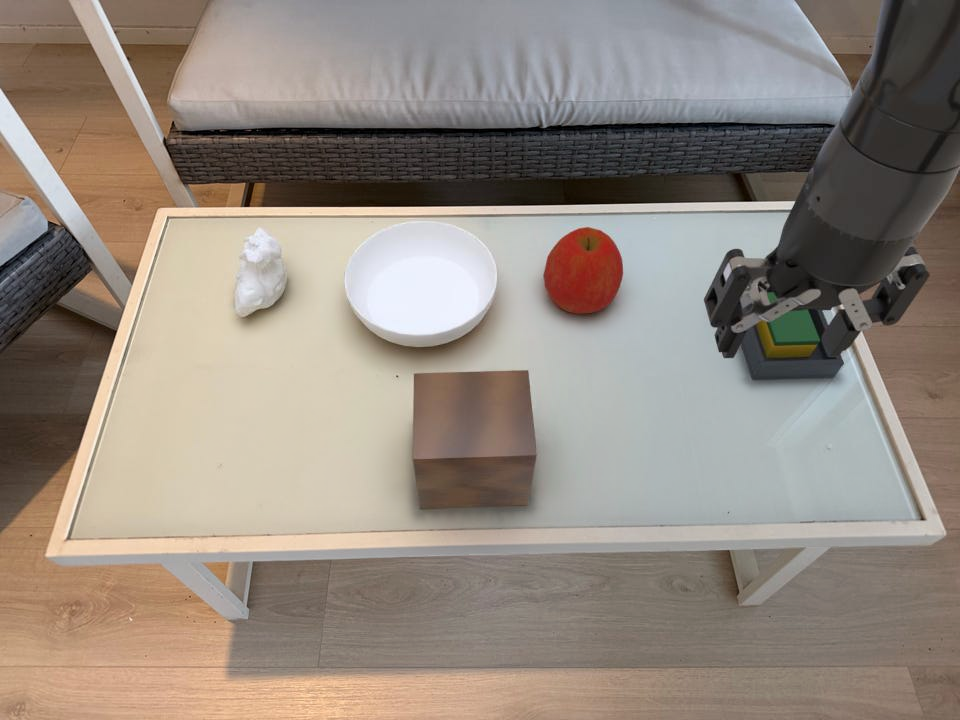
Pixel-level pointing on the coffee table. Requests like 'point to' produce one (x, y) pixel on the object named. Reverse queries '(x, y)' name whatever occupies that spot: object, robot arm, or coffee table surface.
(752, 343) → the tray
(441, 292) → the bowl
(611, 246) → the apple
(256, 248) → the bust
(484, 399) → the wooden block
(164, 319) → the coffee table surface
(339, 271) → the coffee table surface
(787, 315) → the sponge
